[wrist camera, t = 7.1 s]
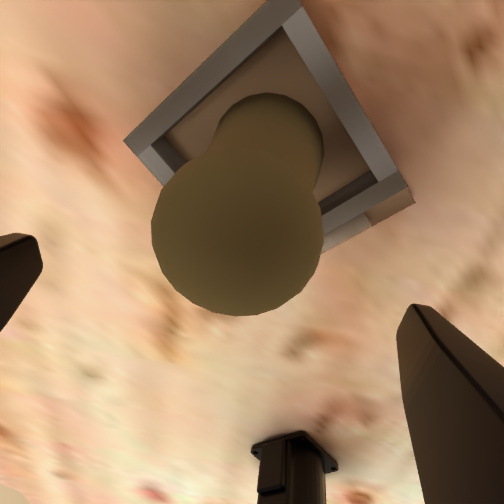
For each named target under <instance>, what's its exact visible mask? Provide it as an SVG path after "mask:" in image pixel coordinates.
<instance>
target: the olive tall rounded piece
mask: <svg viewBox="0 0 504 504" xmlns="http://www.w3.org/2000/svg"><path fill="white" fill-rule="evenodd" d="M323 157H324V146H323V135H322V133H321V131H320V128H319V126H318V124H317V122H316V119H315V118H314V117H313V115H312V114H311V113H310V112H309V111H308V110H307V109H306V108H305V107H304V106H303V104H301V103H299V102H297V101H295V100H293V99H292V98H290V97H288V96H286V95H281V94H275V93H268V92H265V93H260V94H255V95H250V96H247V97H245V98H243V99H242V100H240V101H238V102H237V103H235V104H233V105H232V106H231V107H230V108H229V109H228V110H227V112H226V113H225V114H224V115H223V116H222V118H221V119H220V121H219V123H218V126H217V128H216V131H215V133H214V136H213V138H212V141H211V143H210V146H209V148H208V151H207V152H205V153H204V154H202V155H200V156H198V157H196V158H195V159H193V160H191V161H189V162H187V163H186V164H184V165H183V166H182V167H181V168H180V169H179V170H178V171H177V172H176V173H175V174H174V175H173V176H172V178H171V179H170V180H169V181H168V182H167V184H166V185H165V186H164V187H163V188H162V190H161V193H160V196H159V198H158V201H157V204H156V207H155V210H154V213H153V217H152V220H151V233H152V246H153V249H154V252H155V254H156V257H157V260H158V262H159V265H160V268H161V270H162V273H163V274H164V275H165V277H166V278H167V279H168V281H169V282H170V283H171V284H172V286H173V287H174V288H175V290H176V291H178V292H179V293H180V294H182V295H183V296H184V297H186V298H187V299H188V300H189V301H191V302H192V303H194V304H196V305H198V306H200V307H203V308H205V309H207V310H209V311H212V312H215V313H220V314H225V315H231V316H249V315H258V314H261V313H264V312H267V311H270V310H273V309H276V308H278V307H280V306H281V305H283V304H284V303H286V302H287V301H288V300H290V299H291V298H293V297H294V296H295V295H297V294H298V293H300V292H301V291H302V289H303V288H304V287H305V285H306V284H307V283H308V281H309V280H310V278H311V277H312V276H313V274H314V272H315V270H316V268H317V265H318V262H319V258H320V255H321V251H322V247H323V244H324V237H323V227H322V217H321V209H320V206H319V204H318V202H317V200H316V198H315V196H314V194H313V192H314V189H315V186H316V182H317V179H318V176H319V173H320V169H321V165H322V161H323Z"/></svg>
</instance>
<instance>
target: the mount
mask: <svg viewBox="0 0 504 504" xmlns="http://www.w3.org/2000/svg"><path fill="white" fill-rule="evenodd" d="M265 92H268V93H275V94H281V95H286V96H288V97H290V98H292V99H293V100H295V101H297V102H299V103H301V104H303V106H304V107H305V108H306V109H307V110H308V111H309V112H310V113H311V114H312V115H313V117H314V118H315V119H316V122H317V124H318V126H319V128H320V131H321V133H322V135H323V146H324V157H323V161H322V165H321V169H320V173H319V176H318V179H317V182H316V186H315V189H314V192H313V194H314V196H315V198H316V200H317V202H318V204H319V206H320V209H321V217H322V227H323V237H324V244H323V247H322V251H321V254H322V253H324V252H326V251H327V250H329V249H331V248H333V247H335V246H337V245H338V244H340V243H342V242H344V241H346V240H348V239H349V238H351V237H353V236H355V235H357V234H359V233H361V232H362V231H364V230H366V229H368V228H370V227H372V226H373V225H375V224H377V223H379V222H381V221H383V220H384V219H386V218H388V217H390V216H392V215H394V214H395V213H397V212H399V211H401V210H403V209H405V208H406V207H408V206H410V205H412V204H414V203H416V202H415V201H414V199H413V197H412V195H411V194H410V192H409V190H408V189H407V187H408V186H407V184H406V182H405V181H404V179H403V177H402V175H401V174H400V172H399V170H398V169H397V167H396V165H395V163H394V162H393V160H392V158H391V157H390V155H389V153H388V151H387V150H386V148H385V146H384V145H383V143H382V141H381V139H380V138H379V136H378V134H377V133H376V131H375V129H374V127H373V126H372V124H371V122H370V121H369V119H368V117H367V115H366V114H365V112H364V110H363V109H362V107H361V105H360V104H359V102H358V100H357V98H356V97H355V95H354V93H353V92H352V90H351V88H350V86H349V85H348V83H347V81H346V80H345V78H344V76H343V74H342V73H341V71H340V69H339V68H338V66H337V64H336V62H335V61H334V59H333V57H332V56H331V54H330V52H329V50H328V49H327V47H326V45H325V44H324V42H323V40H322V39H321V37H320V35H319V33H318V32H317V30H316V28H315V27H314V25H313V23H312V21H311V20H310V18H309V16H308V15H307V13H306V11H305V9H304V8H303V6H302V4H301V3H300V1H299V0H267V1H266V2H265V3H264V4H263V5H262V6H261V7H260V8H259V9H258V10H257V11H256V12H255V13H254V14H253V15H252V16H251V17H250V18H249V19H248V20H247V21H246V22H245V23H244V24H243V25H242V26H241V27H240V28H239V29H238V30H236V31H235V32H234V33H233V34H232V35H231V36H230V37H229V38H228V39H227V40H226V41H225V42H224V43H223V44H222V45H221V46H220V47H219V48H218V49H217V50H216V51H215V52H214V53H213V54H212V55H211V56H210V57H209V58H208V59H207V60H206V61H204V62H203V63H202V64H201V65H200V66H199V67H198V68H197V69H196V70H195V71H194V72H193V73H192V74H191V75H190V76H189V77H188V78H187V79H186V80H185V81H184V82H183V83H182V84H181V85H180V86H179V87H178V88H177V89H176V90H175V91H174V92H172V93H171V94H170V95H169V96H168V97H167V98H166V99H165V100H164V101H163V102H162V103H161V104H160V105H159V106H158V107H157V108H156V109H155V110H154V111H153V112H152V113H151V114H150V115H149V116H148V117H147V118H146V119H145V120H144V121H143V122H142V123H140V124H139V125H138V126H137V127H136V128H135V129H134V130H133V131H132V132H131V133H130V134H129V135H128V136H127V137H126V138H125V139H124V140H123V141H124V143H125V144H126V145H127V146H128V147H129V148H130V149H131V150H132V152H133V153H134V154H135V155H136V156H137V157H138V158H139V159H140V161H141V162H142V163H143V164H144V165H145V166H146V167H147V168H148V169H149V171H150V172H151V173H152V174H153V175H154V176H155V177H156V178H157V180H158V181H159V182H160V183H161V184H162V185H163V186H165V185H166V184H167V182H168V181H169V180H170V179H171V178H172V176H173V175H174V174H175V173H176V172H177V171H178V170H179V169H180V168H181V167H182V166H183V165H184V164H186V163H187V162H189V161H191V160H193V159H195V158H196V157H198V156H200V155H202V154H204V153H205V152H207V151H208V148H209V146H210V143H211V141H212V138H213V136H214V133H215V131H216V128H217V126H218V123H219V121H220V119H221V118H222V116H223V115H224V114H225V113H226V112H227V110H228V109H229V108H230V107H231V106H232V105H233V104H235V103H237V102H238V101H240V100H242V99H243V98H245V97H247V96H250V95H255V94H260V93H265Z"/></svg>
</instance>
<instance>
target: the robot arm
mask: <svg viewBox="0 0 504 504" xmlns="http://www.w3.org/2000/svg"><path fill="white" fill-rule="evenodd" d="M42 269H43V262H42V258H41V254H40V250H39V246H38V242H37V240H36V238H35V237H34V236H32V235H27V234H22V233H12V234H8V235H4V236H0V332H1V330H2V329H3V328H4V327H5V325H6V324H7V323H8V321H9V320H10V318H11V317H12V316H13V314H14V313H15V311H16V310H17V308H18V307H19V305H20V304H21V302H22V301H23V299H24V298H25V296H26V295H27V293H28V292H29V290H30V289H31V287H32V286H33V284H34V283H35V281H36V280H37V279H38V277H39V276H40V274H41V272H42ZM396 341H397V351H398V361H399V371H400V381H401V391H402V399H403V404H404V410H405V414H406V419H407V423H408V428H409V433H410V437H411V442H412V446H413V451H414V456H415V460H416V465H417V469H418V474H419V478H420V483H421V488H422V492H423V497H424V501H425V504H504V367H503V366H502V365H500V364H499V363H498V362H497V361H496V360H494V359H493V358H492V357H491V356H490V355H488V354H487V353H486V352H485V351H484V350H482V349H481V348H480V347H479V346H478V345H476V344H475V343H474V342H473V341H472V340H470V339H469V338H468V337H467V336H466V335H464V334H463V333H462V332H461V331H460V330H458V329H457V328H456V327H455V326H454V325H452V324H451V323H450V322H449V321H447V320H446V319H445V318H444V317H443V316H441V315H440V314H439V313H438V312H437V311H435V310H434V309H433V308H432V307H430V306H426V305H420V304H411V305H410V306H409V307H408V309H407V311H406V313H405V315H404V317H403V319H402V321H401V323H400V325H399V327H398V330H397V334H396ZM251 453H252V454H253V455H254V456H255V457H256V458H257V459H259V460H260V466H259V475H258V484H257V492H258V501H257V504H326V485H325V474H326V473H331V472H335V471H338V463H337V462H336V461H335V460H333V459H332V458H331V457H330V456H329V455H328V454H327V453H326V452H325V451H324V450H323V449H322V448H321V447H320V446H319V445H318V444H317V443H316V442H315V441H314V440H313V439H312V438H311V437H310V436H309V435H308V434H306V433H305V432H298V433H294V434H291V435H288V436H285V437H281V438H278V439H275V440H271V441H268V442H265V443H262V444H258V445H255V446H252V447H251Z"/></svg>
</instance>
